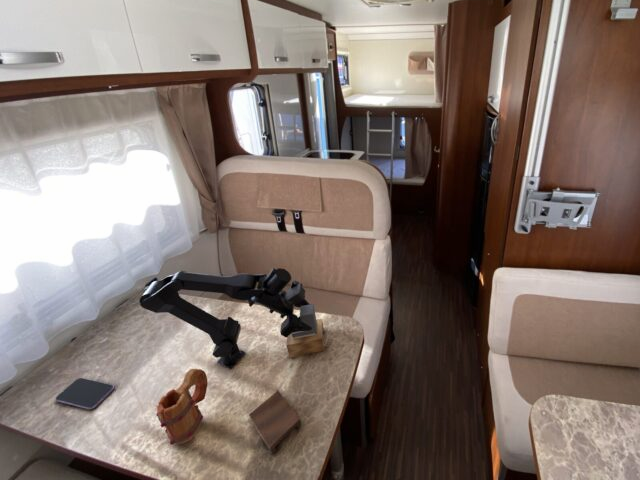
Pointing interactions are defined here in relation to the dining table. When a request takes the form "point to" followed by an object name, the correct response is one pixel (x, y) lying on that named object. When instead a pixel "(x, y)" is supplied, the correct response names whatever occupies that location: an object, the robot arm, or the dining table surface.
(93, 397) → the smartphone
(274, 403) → the small wooden stand
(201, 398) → the mug
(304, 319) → the grey upright block
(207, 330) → the robot arm
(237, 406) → the dining table surface
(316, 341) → the light wood block
